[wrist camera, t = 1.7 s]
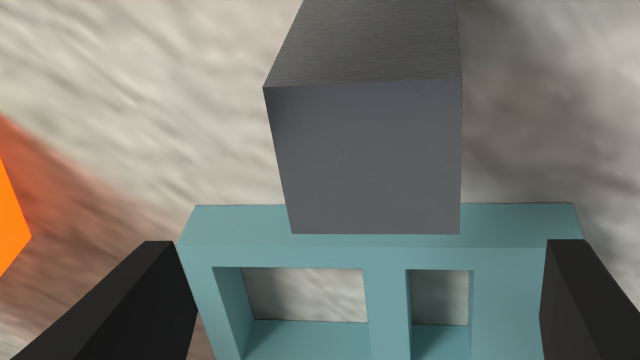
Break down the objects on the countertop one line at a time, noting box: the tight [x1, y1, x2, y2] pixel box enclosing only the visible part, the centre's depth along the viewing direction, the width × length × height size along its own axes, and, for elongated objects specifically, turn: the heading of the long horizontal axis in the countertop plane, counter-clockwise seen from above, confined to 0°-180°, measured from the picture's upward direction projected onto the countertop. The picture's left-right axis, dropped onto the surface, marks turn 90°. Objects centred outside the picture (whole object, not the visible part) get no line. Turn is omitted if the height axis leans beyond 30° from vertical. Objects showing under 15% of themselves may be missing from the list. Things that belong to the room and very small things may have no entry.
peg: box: [262, 0, 462, 235], centre depth 16 cm, size 4×4×8 cm
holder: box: [176, 203, 584, 360], centre depth 25 cm, size 15×8×2 cm, turn 97°
